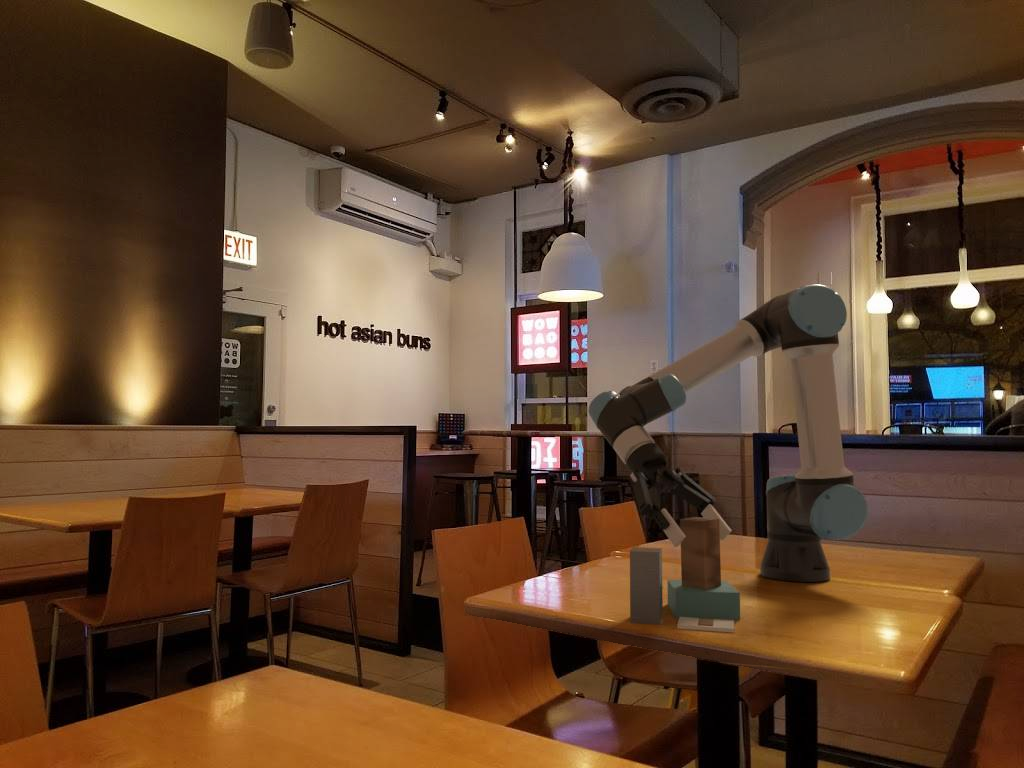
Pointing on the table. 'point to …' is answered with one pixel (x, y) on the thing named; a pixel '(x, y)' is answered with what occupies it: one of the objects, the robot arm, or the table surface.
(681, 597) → the teal pedestal
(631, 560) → the grey metal block
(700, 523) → the walnut block
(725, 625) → the card
